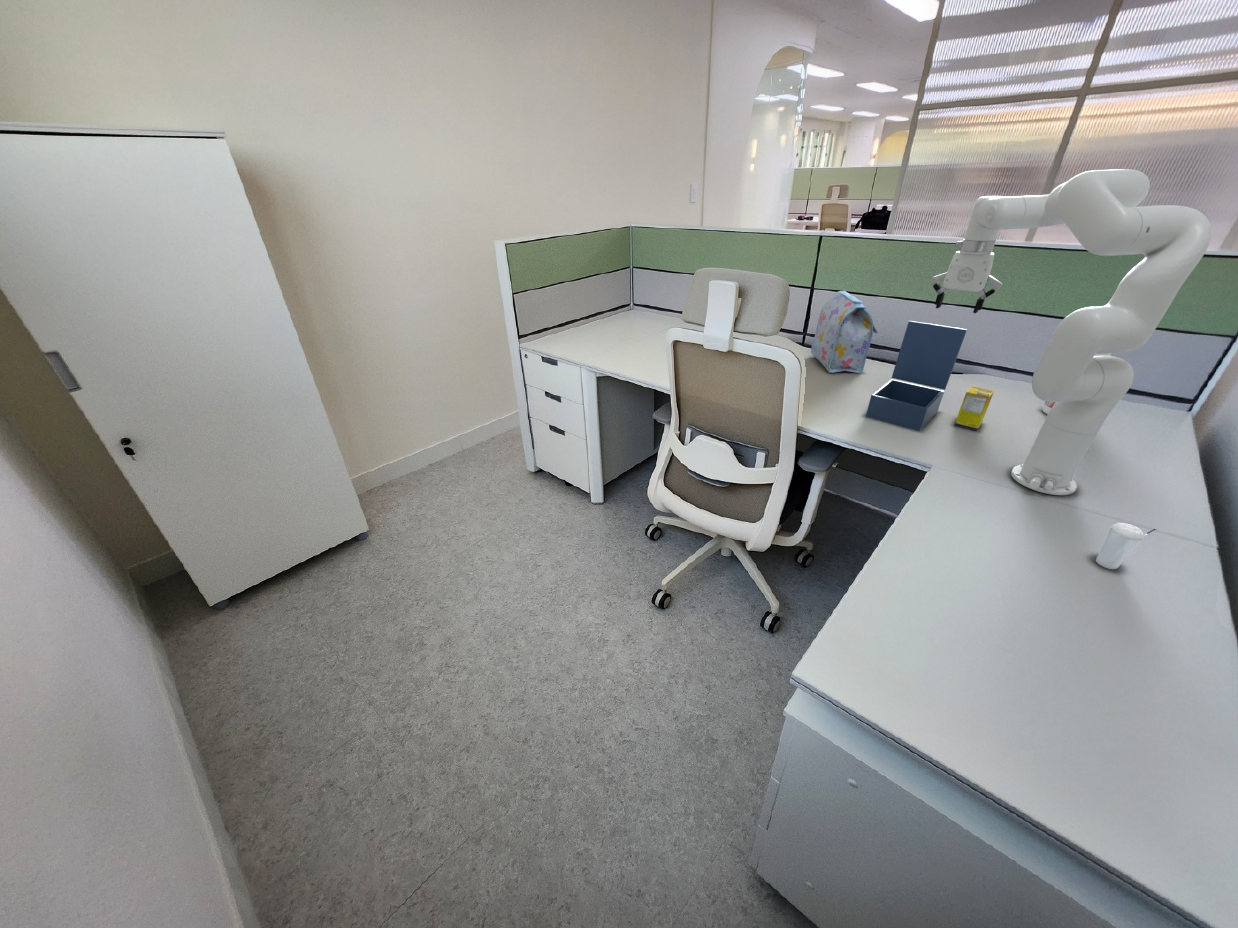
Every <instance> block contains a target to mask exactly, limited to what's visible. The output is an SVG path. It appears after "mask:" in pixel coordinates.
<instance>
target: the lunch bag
mask: <svg viewBox="0 0 1238 928" xmlns="http://www.w3.org/2000/svg"><path fill="white" fill-rule="evenodd" d="M874 333H875V334H876V335H877V334H878V333H879V332H878V329H877V328H876V325H875V323H874V320H873V317H872V315H871V313H870V312H869V310H868V308H867V307H866V306H865V305H864V304H863V301H862V300H860V299H858V298H857V297H856V296H854V295H851V294H850V293H849V292H847V290H839V291H836V292H835V294H834V295H833V296H832V297H831V298H829V299H828V300H827V302H825V303H824V305H823V306H822V307H821V309H820V312H819V315H818V319H817V326H816V329H815V334H814V338H813V341H812V345H811V349H810V354H811V355H813V357H815V359H816V360H818V362H820V364H821V365H822V366H823V367H824V368H825V369H826V371H827V372H828V373H829V374H835V373H840V372H852V373H856V374H862V373H863V371H864V368H865V365H866V362H867V357H868V353H869V350H870V346H871V343H872V339H873V334H874Z"/></svg>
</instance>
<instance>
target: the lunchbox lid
mask: <svg viewBox="0 0 1238 928" xmlns="http://www.w3.org/2000/svg"><path fill="white" fill-rule="evenodd" d="M967 331H968V329H967V328H962V327H961V328H960V327H953V326H948V325H942V324H933V323H928V322H920V321H916V320H915V321H913V320H908V322H907V326H906V328H905V332H904V336H903V339H902V342H901V345H900V349H899V351H898V356H897V358H896V361H895V364H894V368H893V371H892V375H891V379H893V380H898V381H902V382H907V383H911V384H916V385H920V386H924V387H929V388H933V389H938V390H942V391H945V390H946V389H947V386H948V383H949V382H950V381H949V380H950V378H951V375H952V373H953V370H954V367H955V364H956V361H957V358H958V356H959V353H960V351H961V347H962V345H963V342H964V340H965V336H966V335H967Z"/></svg>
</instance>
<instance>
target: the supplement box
mask: <svg viewBox="0 0 1238 928" xmlns="http://www.w3.org/2000/svg"><path fill="white" fill-rule="evenodd" d="M994 392H995V391H994V390H992V389H986V388H982V387H977V386H972V385H971V386H970V387H969V388H968V389H967V391H966V392H965V394H964V397H963V399H962V403H961V406H960V408H959V411H958V414H957V416H956V418H955V422H954V426H957V427H961V428H965V429H968V430H973V431H976V432H977V431H978V430H979V428H980V427H981V425H982V424H983V421H984V418H985V416H986V413H987V410H988V408H989V405H990V403H991V400H992V398H993V395H994Z"/></svg>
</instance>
